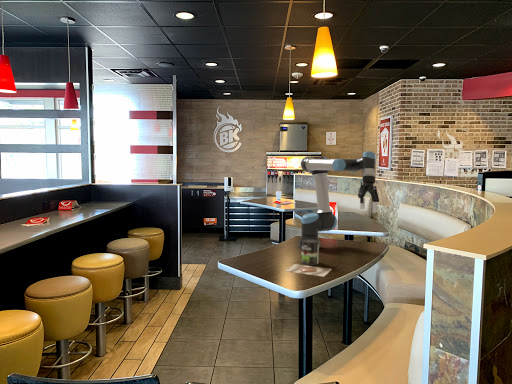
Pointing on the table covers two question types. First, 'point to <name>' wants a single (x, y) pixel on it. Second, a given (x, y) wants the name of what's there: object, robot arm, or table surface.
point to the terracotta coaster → (308, 269)
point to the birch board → (319, 272)
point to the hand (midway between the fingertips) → (368, 210)
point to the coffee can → (310, 252)
